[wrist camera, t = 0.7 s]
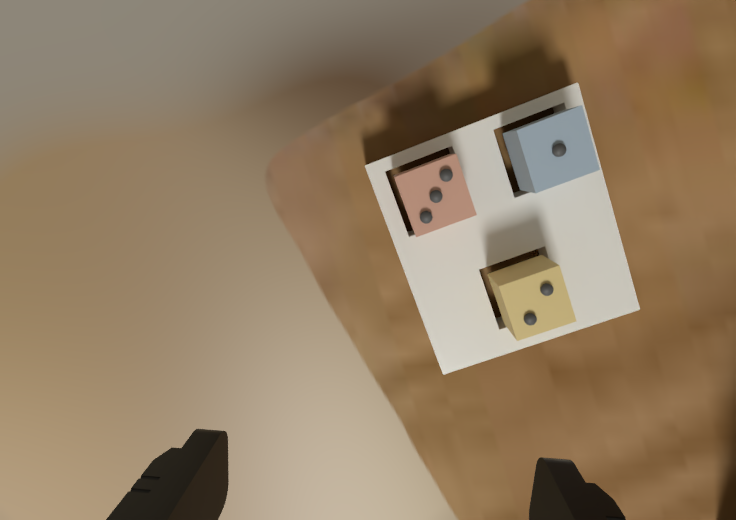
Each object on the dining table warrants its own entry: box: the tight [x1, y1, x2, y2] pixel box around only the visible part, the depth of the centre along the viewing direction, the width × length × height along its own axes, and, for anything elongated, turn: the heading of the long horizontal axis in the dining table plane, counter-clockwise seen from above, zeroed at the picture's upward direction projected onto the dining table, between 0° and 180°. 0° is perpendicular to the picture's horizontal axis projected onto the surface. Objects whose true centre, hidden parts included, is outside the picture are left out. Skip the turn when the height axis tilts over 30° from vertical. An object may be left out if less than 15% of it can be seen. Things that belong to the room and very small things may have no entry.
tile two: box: [488, 255, 576, 341], centre depth 28 cm, size 4×4×3 cm
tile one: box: [503, 105, 600, 193], centre depth 26 cm, size 4×4×3 cm
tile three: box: [394, 154, 477, 237], centre depth 27 cm, size 4×4×3 cm
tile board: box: [365, 82, 640, 375], centre depth 30 cm, size 14×15×2 cm
